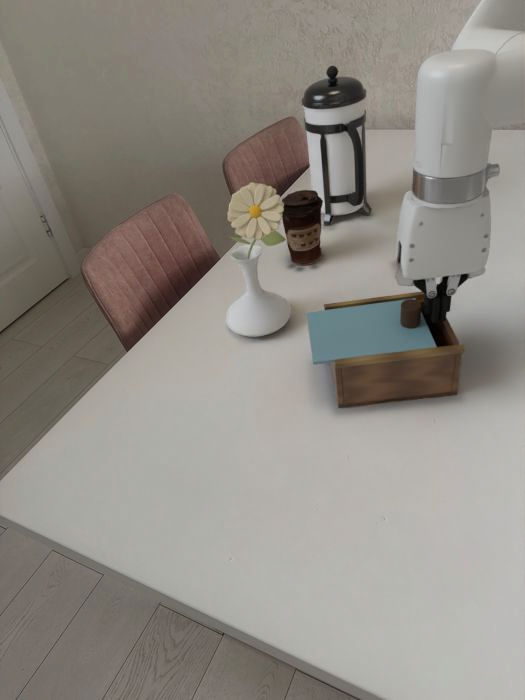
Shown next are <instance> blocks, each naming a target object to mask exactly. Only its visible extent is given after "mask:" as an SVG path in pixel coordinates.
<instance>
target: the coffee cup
mask: <svg viewBox="0 0 525 700" xmlns="http://www.w3.org/2000/svg"><path fill="white" fill-rule="evenodd" d="M281 202H283V203H284V207H283V208H284V211H283V212H282V214H283V216H282V218H281V221H282V225H283V229H284V234H285V239H286V245H287V249H288V251H289V254H290V261H291V263H293V264H295V265H297V266H298V265H299V266H306V265H311V264H314V263H316V262H318V261H319V260H321V259H322V257H323V253H322V247H321V233H322V213H321V208H322V203H323V201H322V199H321V198H320V197H319V196H318V193H317V192H316V191H313V190H312V189H302V190H296V191H293V192H291V193H288V194H287V195H285V196H284V197H283V198H282V199H281Z"/></svg>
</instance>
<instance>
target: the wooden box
mask: <svg viewBox="0 0 525 700" xmlns="http://www.w3.org/2000/svg"><path fill="white" fill-rule="evenodd" d="M413 298H415V299H416V300H418V301H419V302H420V303H421V305H422V306H421V312H422V315H423V317H424V319H425V321H426V324H427V326H428V328H429V330H430V333H431V335H432V337H433V339H434V342H435V344H436V346H437V347H436V348H427V349H419V350H411V351H403V352H395V353H387V354H379V355H370V356H362V357H354V358H346V359H338V360H334V362H333V363H329V364H330V369H331V375H332V380H333V386H334V392H335V398H336V403H337V408H338V409H342V408H343V409H344V408H352V407H361V406H368V405H378V404H385V403H386V404H387V403H395V402H403V401H413V400H421V399H422V400H423V399H431V398H439V397H446V396H455V395H458V387H459V381H460V374H461V366H462V358H463V354H464V353H465V352H466V347H465V344H463V343H460V341H459V339H458V338H457V335H456V334H455V331H454V330H453V327H452V326H451V324H450V321H449V320H448V318H447V317H446V321H445V322H441V321H438V322H437V323H432V321H431V318H430V316H429V314H428V315H426V314H425V312H424V293H423V292H422V291H421V290H420V291H414V292H407V293H406V292H405V293H399V294H392V295H391V294H390V295H384V296H378V297H369V298H362V299H354V300H347V301H339V302H332V303H326V304H325V303H324V304H323V310H330V309H337V308H345V307H353V306H360V305H368V304H375V303H383V302H391V301H398V300H406V299H413Z"/></svg>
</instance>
